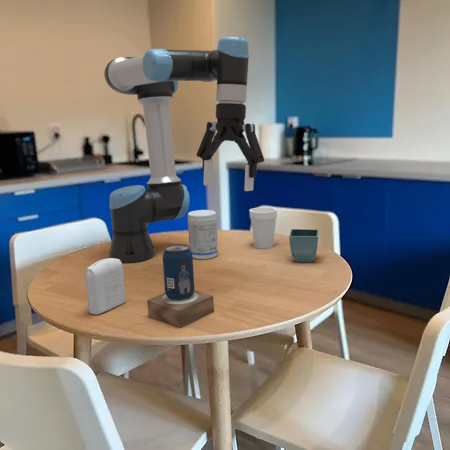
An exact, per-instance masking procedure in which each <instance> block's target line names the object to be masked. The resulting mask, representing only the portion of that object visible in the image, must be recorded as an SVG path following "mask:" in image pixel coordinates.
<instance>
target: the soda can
mask: <svg viewBox="0 0 450 450" xmlns="http://www.w3.org/2000/svg"><path fill="white" fill-rule="evenodd" d="M162 269H163V271H162V272H163V283H164V293H165V294H166V295H167V297H168V298H169V299H170V300H174V301H182V300H187V299H189V298H191V297H192V295H193V293H194V290H195V276H194V275H195V274H194V273H195V272H194V258H193V256H192V252H191V250H190V249H189V245H188V244H185V243H184V244H183V243H181V244H180V243H177V244H169V245H167V246H165V247H164V252H163V254H162Z"/></svg>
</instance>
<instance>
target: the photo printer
mask: <svg viewBox="0 0 450 450" xmlns="http://www.w3.org/2000/svg"><path fill="white" fill-rule="evenodd" d="M124 278H125V277H124V265H123V263H121V261H120V260H119V259H115V258H110V257H108V258H102V259H100V260H97V261H95V262H94V263H92V264H91V265H90V266H88V267H87V268H86V269H85V271H84V280H85V289H86V300H87V301H86V302H87V308H88V312H89V313H90V314H92V315H100V314H102V313H105V312H107V311H109V310H112V309H113V308H114V309H115V308H116V307H118V306H120V305H123V304H124V303H126V289H125V279H124Z"/></svg>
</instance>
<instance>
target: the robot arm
mask: <svg viewBox="0 0 450 450" xmlns="http://www.w3.org/2000/svg"><path fill="white" fill-rule="evenodd" d="M217 43H218V45H217V49H213V50H201V49H200V50H198V49H197V50H194V49H192V50H191V49H170V48H169V49H167V48H166V49H165V48H161V47H160V48H150V49H147V50H146V51H145V54H144V55H139V56H134V57H133V56H121V57H117V58H114V59H111V60H110V61H108V63H107V64H106V66H105V68H104V71H103V72H104V73H103V74H104V80H105V82H106V84H107V85H108V86H109V88H110V89H112V90H113V91H114V92H116V93H118V94H122V95H123V94H124V95H133V96H134V95H137V102H138V103H139V104H141V105H142V109H143V117H144V125H145V135H146V145H147V155H148V163H149V171H150V172H149V173H150V178H149V180H148V181H147V182H146V184H147V185H146V187H147V188H145V186H144V185H140V184H136V185H128V186H124V187H120V188H117V189H115V190H113V191H112V192H111V193H110V194H109V206H108V207H109V211H110V220H111V228H112V230H111V231H112V239H111V243H110V247H109V251H108V254H109V257H108V258H115V259H119V260H120V261H121V263H122V264H130V263H137V262H144V261H146V260H150V259H152V258H154V257H155V256H156V248H155V246H154V243H153V241H152V239H151V236H150V233H149V227H148V224H153V223H158V222H165V221H174V220H176V219H181V218H183V217H185V215H186V214H187V212H188V210H189V207H190V194H189V193H190V192H189V191H188V188H187V186H186V185H185V184H182V179H181V178H179V176H177V173H176V172H177V171H176V162H175V161H176V160H175V154H174V153H175V151H174V143H173V142H174V141H173V133H172V121H171V113H170V103H171V101H173V100H174V99H173V97H174V96H173V95H174V94H175V93H177V90H178V85H179V81H181V82H182V81H185V82H187V81H188V82H189V81H190V82H205V83H207V82H209V83H210V82H211V83H212V82H213V81H216V93H215V95H216V96H215V97H216V100H215V101H217V102H218V103H216V105H215V118H216V120H217V121H216V122H215V121H208V122H207V123H206V128H205V132H204V134H203V137H202V139H201V142H200V145H199V147H198V149H197V152H196V157H197V158H200V159H201V160H202V166H201V168H202V169H201V171H202V172H203V186H210V185H213V181H214V180H213V178H214V177H213V176H214V174H213V172H214V160H213V159H212V157H214V155H215V153H216V152H217V150H219V148H220V146H221V145H222V144H223V142H228V141H229V142H234V143H235V144H237V146H238V148H239V150H240V151H241V152H242V154H243V157H244V158H245V160H246V161H247V163H246V164H245V172H244V174H245V175H244V190H243V191H244V192H249V191H250V192H251V191H254V184H255V183H254V181H255V178H256V177H257V167H258V164H260V163H264V162H265V157H264V155H263V152H262V149H261V146H260V143H259V140H258V137H257V133H256V124H254V123H245V119H246V113H247V106H246V104H244V103H246V102H247V91H248V86H247V85H248V72H249V71H248V70H249V57H250V54H249V42H248V40H247V38H245V37H241V36H223V37H220V38H219V40H218V42H217ZM243 132H244V133H245V135H244V133H243ZM245 136H246V137H245Z"/></svg>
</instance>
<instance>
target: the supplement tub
mask: <svg viewBox="0 0 450 450" xmlns="http://www.w3.org/2000/svg"><path fill="white" fill-rule="evenodd" d="M187 228H188V230H187V231H188V244H189V245H188V246H189V249H190V250H191V252H192V256H193V259H196V260H209V259H210V260H211V259H213V258H215V257H217V255H219V241H218V217H217V212H216V211H215V210H209V209H198V210H197V209H196V210H192V211H189V212H188V213H187Z"/></svg>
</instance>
